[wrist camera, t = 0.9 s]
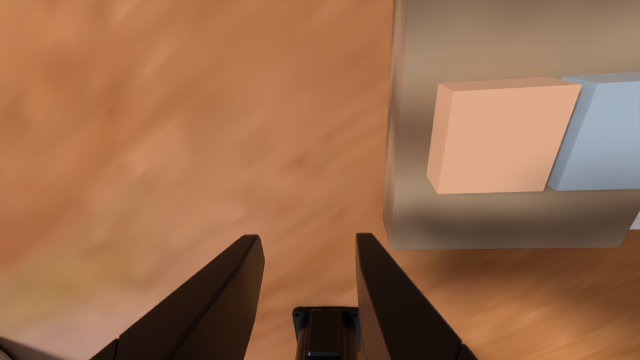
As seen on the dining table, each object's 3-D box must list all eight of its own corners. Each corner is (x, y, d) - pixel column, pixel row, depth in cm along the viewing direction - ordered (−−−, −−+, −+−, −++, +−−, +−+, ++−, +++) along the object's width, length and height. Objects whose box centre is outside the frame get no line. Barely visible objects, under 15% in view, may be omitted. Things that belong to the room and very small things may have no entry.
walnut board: (576, 214, 20) (618, 247, 17) (382, 218, 21) (390, 249, 18) (704, -70, 13) (820, -102, 10) (396, -41, 14) (412, -61, 11)
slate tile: (629, 169, 15) (669, 187, 13) (531, 172, 15) (556, 190, 13) (681, 69, 12) (737, 75, 11) (562, 76, 13) (598, 83, 11)
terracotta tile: (519, 172, 15) (543, 191, 13) (426, 175, 16) (437, 193, 14) (549, 76, 13) (582, 84, 11) (438, 83, 13) (453, 91, 12)
